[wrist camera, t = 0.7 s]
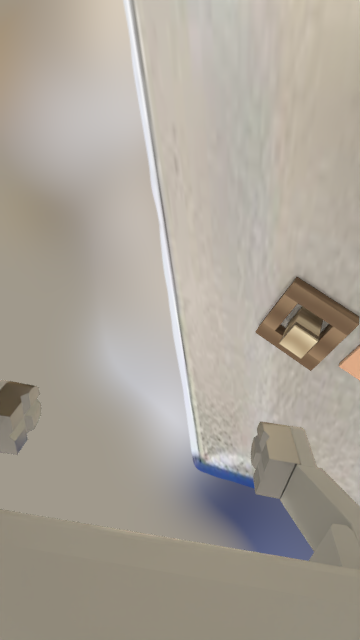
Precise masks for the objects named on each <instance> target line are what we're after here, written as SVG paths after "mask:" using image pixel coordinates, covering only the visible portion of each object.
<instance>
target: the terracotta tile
mask: <svg viewBox="0 0 360 640" xmlns="http://www.w3.org/2000/svg"><path fill="white" fill-rule="evenodd" d="M339 367H341V368H342V369H344V370H345V371H347V372H348V373H350V374H351V375H352V376H354V377H355V378H357V379H358V380H360V345H359V346H358V347H357V348H356V349H355V350H353V351H352V352H351V353H350V354H349V355H348V356H347V357H346V358H345V359H344V360H342V361H341V362H340V363H339Z"/></svg>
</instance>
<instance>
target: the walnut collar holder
mask: <svg viewBox="0 0 360 640" xmlns="http://www.w3.org/2000/svg"><path fill="white" fill-rule="evenodd" d="M297 303H298V304H300V305H301V306H303V307H304V308H306V309H307V310H309V311H311V312H312V313H314V314H315V315H317V316H318V317H320V318H321V319H323V320H324V321H326V322H327V323H329V325H328V326H327V327H326V328H325V329H324V330H323V331H322V333H321V334H320V335H319V340H318V342H317V343H316V344H315V345H314V346H313V347H312V348H311V349H310V350H309V351H308V352H307V353H306V354H305V355H304V356H303V357H302V358H299V357H298V356H296V355H295V354H294V353H292V352H291V351H289V350H288V349H286V348H285V347H283V346H282V345H281V344H279V343H280V340H281V338H282V336H283V334H284V332H285V330H286V328H284V327H283V326H281V325H280V324H281V323H282V322H283V320H284V319H285V318H286V317H287V316H288V314H289V313H290V312H291V311H292V309H293V308H294V307H295V306H296V305H297ZM358 325H359V316H357V315H356V314H354V313H352V312H351V311H349V310H348V309H346V308H345V307H343V306H342V305H340V304H338V303H337V302H335V301H334V300H332V299H331V298H329V297H328V296H326V295H324V294H323V293H321V292H320V291H318V290H317V289H315V288H314V287H312V286H310V285H309V284H307V283H306V282H304V281H303V280H301V279H300V278H298V277H296V279H295V280H294V281H293V283H292V284H291V285H290V286H289V288H288V289H287V290H286V292H285V293H284V294H283V296H282V297H281V298H280V299H279V301H278V302H277V303H276V305H275V306H274V307H273V308H272V310H271V311H270V312H269V314H268V315H267V316H266V318H265V319H264V320H263V321H262V323H261V324H260V325H259V327H258V329H257V330H256V333H257V334H259V335H260V336H261V337H263V338H264V339H266V340H267V341H269V342H270V343H271V344H273V345H274V346H276V347H277V348H279V349H280V350H282V351H283V352H284V353H286V354H287V355H289V356H290V357H292V358H293V359H294V360H296V361H297V362H299V363H300V364H302V365H303V366H305V367H306V368H307V369H309V370H310V371H311V370H312V369H313V368H314V367H315V366H316V365H318V364H319V363H320V362H321V361H322V360H323V359H324V358H325V357H326V356H327V355H328V354H329V353H330V352H331V351H332V350H333V349H334V348H335V347H336V346H337V345H338V344H339V343H340V342H341V341H342V340H343V339H345V338H346V337H347V336H348V335H349V334H350V333H351V332H352V331H353V330H354V329H355V328H356V327H357V326H358Z"/></svg>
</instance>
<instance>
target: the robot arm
mask: <svg viewBox="0 0 360 640" xmlns="http://www.w3.org/2000/svg"><path fill="white" fill-rule="evenodd" d="M39 395H40V392H39V387H37V386H34V385H29V384H23V383H18V382H12V381H6V380H0V452H1V453H8V454H16V455H17V454H18V453H19V451H20V450H21V448H22V446H23V445H24V444H25V442H26V441H27V433H28V432H30V431H32V430H33V429H34V428H35V427H36V425H37V423H38V421H39V418H40V416H41V403H40V402H39V401H38V399H37V398H38V396H39ZM257 433H258V435H257V436H256V437H254V439H253V443H252V448H251V462H252V465H253V467H254V468H255V469H256V470H255V473H254V476H253V478H254V485H255V493H256V494H258V495H263V496H268V497H273V498H279V499H280V501H281V502H282V504H283V505H284V507H285V508H286V510H287V511H288V513H289V514H290V516H291V517H292V519H293V520H294V522H295V523H296V525H297V526H298V528H299V529H300V531H301V532H302V534H303V535H304V537H305V538H306V540H307V542H308V543H309V545H310V546H311V548H312V549H313V551H314V554H313V555H312V557H311V558H310V560H309V561H305V560H299V559H293V558H288V557H282V556H276V555H270V554H264V553H258V552H252V551H246V550H240V549H234V548H228V547H222V546H216V545H211V544H205V543H198V542H192V541H186V540H180V539H175V538H169V537H163V536H157V535H151V534H145V533H139V532H133V531H127V530H121V529H115V528H109V527H103V526H98V525H91V524H86V523H80V522H74V521H67V520H62V519H56V518H50V517H44V516H39V515H33V514H27V513H21V512H15V511H9V510H3V509H0V640H360V506H359V505H358V504H357V503H356V502H355V501H354V500H353V499H352V498H351V497H350V496H349V495H348V494H347V493H346V492H345V491H344V490H343V489H342V488H341V487H340V486H339V485H338V484H337V483H336V482H335V481H334V480H333V479H332V478H331V477H330V476H329V475H328V474H327V473H326V472H325V471H324V470H323V469H322V468H318V467H317V464H316V462H315V459H314V456H313V453H312V450H311V447H310V444H309V441H308V438H307V435H306V432H305V430H304V429H303V428H301V427H294V426H287V425H280V424H274V423H267V422H260V423H259V425H258V427H257Z"/></svg>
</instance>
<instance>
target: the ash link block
mask: <svg viewBox="0 0 360 640" xmlns="http://www.w3.org/2000/svg"><path fill="white" fill-rule="evenodd" d="M322 322H323V319H321V318H320V317H318V316H317V315H315V314H314V313H312V312H311V311H309V310H307V309H306V308H304V307H303V306H302V307H301V309H300V310H299V311H298V312H297V313H296V315H295V316H294V317H293V318H292V319H291V320H290V322H289V323H288V325H287V327H286V330H285V332H284V334H283V336H282V338H281V340H280V343H279V344H281V345H282V346H283V347H285V348H286V349H288V350H289V351H291V352H292V353H294V354H295V355H296V356H298V357H299V358H302V357H303V356H304V355H305V354H306V353H307V352H308V351H309V350H310V349H311V348H312V347H313V346H314V345H315V344H316V343H317V342H318V340H319V334H320V330H321V326H322Z"/></svg>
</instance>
